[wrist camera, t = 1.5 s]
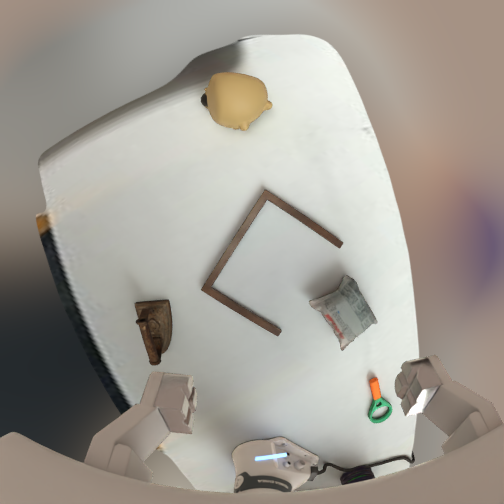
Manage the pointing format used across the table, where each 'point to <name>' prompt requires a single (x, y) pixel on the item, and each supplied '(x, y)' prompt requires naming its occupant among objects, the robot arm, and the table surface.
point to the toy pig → (235, 99)
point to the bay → (235, 242)
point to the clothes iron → (155, 327)
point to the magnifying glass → (377, 399)
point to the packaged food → (345, 311)
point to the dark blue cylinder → (357, 475)
